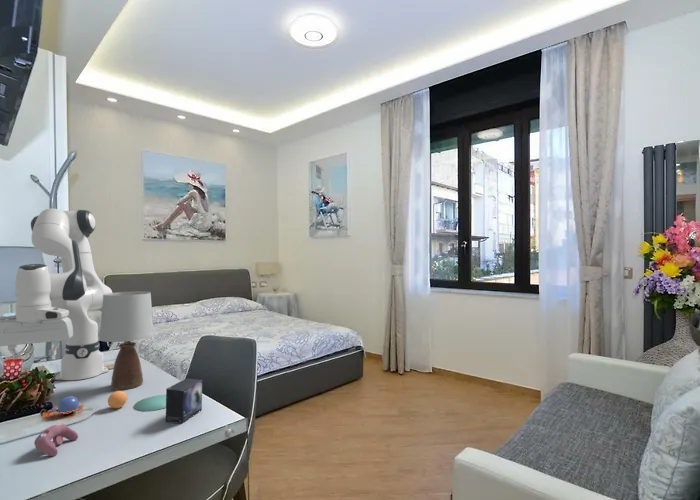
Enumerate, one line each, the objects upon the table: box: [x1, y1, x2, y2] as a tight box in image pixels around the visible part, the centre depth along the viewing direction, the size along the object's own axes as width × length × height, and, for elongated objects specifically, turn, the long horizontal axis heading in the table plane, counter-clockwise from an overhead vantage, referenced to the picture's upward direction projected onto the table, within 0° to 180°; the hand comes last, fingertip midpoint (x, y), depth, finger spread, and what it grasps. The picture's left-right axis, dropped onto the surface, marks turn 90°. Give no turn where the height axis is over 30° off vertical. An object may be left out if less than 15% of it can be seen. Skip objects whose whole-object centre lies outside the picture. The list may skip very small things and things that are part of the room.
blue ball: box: [57, 395, 80, 413], centre depth 122 cm, size 6×6×6 cm
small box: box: [165, 378, 203, 424], centre depth 120 cm, size 11×6×10 cm, turn 168°
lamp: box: [99, 290, 154, 391], centre depth 149 cm, size 19×19×37 cm
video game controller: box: [34, 423, 79, 457], centre depth 101 cm, size 10×5×7 cm, turn 5°
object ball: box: [107, 390, 128, 409], centre depth 127 cm, size 6×6×6 cm
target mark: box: [133, 394, 166, 412], centre depth 131 cm, size 14×14×1 cm
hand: (34, 357), depth 120 cm, fingers open, 8 cm apart
